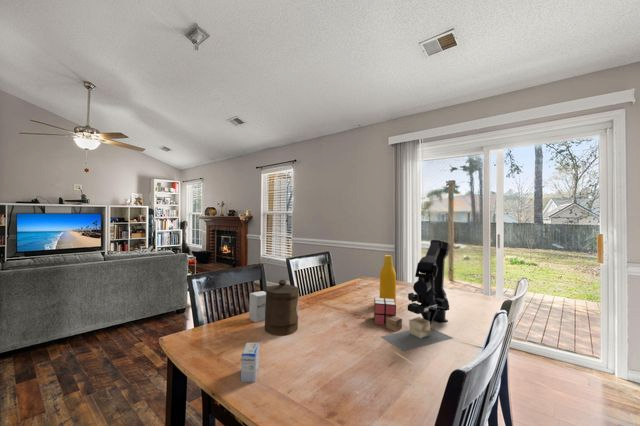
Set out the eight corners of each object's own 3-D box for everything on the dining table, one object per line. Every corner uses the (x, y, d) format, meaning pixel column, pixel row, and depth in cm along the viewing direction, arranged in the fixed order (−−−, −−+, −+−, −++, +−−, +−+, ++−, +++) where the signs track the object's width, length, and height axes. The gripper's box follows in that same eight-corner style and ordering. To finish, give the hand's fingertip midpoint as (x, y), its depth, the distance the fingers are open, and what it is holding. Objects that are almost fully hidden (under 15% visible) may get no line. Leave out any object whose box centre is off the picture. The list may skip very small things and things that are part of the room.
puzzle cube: (395, 326, 132) (396, 304, 132) (374, 324, 134) (374, 303, 134) (394, 318, 142) (394, 298, 142) (373, 317, 144) (374, 297, 144)
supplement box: (255, 322, 133) (256, 296, 133) (248, 318, 138) (249, 292, 139) (269, 319, 138) (270, 293, 138) (261, 315, 143) (262, 290, 143)
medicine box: (245, 368, 93) (245, 342, 93) (258, 368, 93) (259, 342, 94) (240, 382, 85) (241, 353, 85) (255, 382, 86) (256, 353, 86)
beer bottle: (383, 302, 169) (383, 254, 170) (398, 305, 164) (398, 255, 164) (376, 305, 162) (377, 255, 162) (392, 309, 156) (392, 257, 157)
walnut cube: (392, 326, 132) (392, 315, 132) (401, 329, 128) (401, 318, 129) (386, 328, 129) (386, 317, 129) (395, 332, 125) (395, 321, 125)
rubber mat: (427, 327, 132) (427, 326, 132) (453, 338, 119) (453, 337, 119) (380, 337, 119) (380, 336, 119) (403, 352, 106) (403, 351, 106)
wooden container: (304, 329, 127) (305, 280, 127) (278, 339, 116) (279, 285, 116) (283, 320, 137) (284, 275, 137) (257, 328, 126) (259, 279, 126)
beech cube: (420, 329, 125) (419, 316, 125) (430, 335, 120) (429, 321, 120) (409, 333, 123) (408, 320, 122) (420, 339, 117) (419, 325, 117)
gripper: (427, 282, 135) (428, 315, 135) (398, 288, 126) (398, 322, 126) (447, 287, 125) (448, 322, 125) (417, 294, 116) (418, 332, 116)
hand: (428, 324), depth 123 cm, fingers closed
